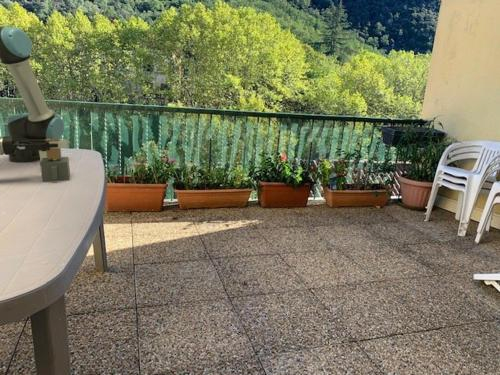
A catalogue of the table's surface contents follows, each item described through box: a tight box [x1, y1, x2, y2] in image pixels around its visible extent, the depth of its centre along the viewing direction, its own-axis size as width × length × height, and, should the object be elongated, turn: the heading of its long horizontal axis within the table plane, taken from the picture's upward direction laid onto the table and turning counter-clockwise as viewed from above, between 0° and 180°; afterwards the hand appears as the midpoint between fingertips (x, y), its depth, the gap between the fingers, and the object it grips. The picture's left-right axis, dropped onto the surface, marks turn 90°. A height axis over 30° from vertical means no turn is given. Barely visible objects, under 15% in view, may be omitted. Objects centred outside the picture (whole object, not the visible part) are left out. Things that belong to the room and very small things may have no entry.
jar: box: [39, 150, 63, 162], centre depth 178 cm, size 9×8×12 cm
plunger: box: [45, 138, 62, 161], centre depth 164 cm, size 4×5×14 cm
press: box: [39, 156, 71, 183], centre depth 164 cm, size 13×10×8 cm
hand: (66, 143), depth 164 cm, fingers closed on plunger, 4 cm apart
